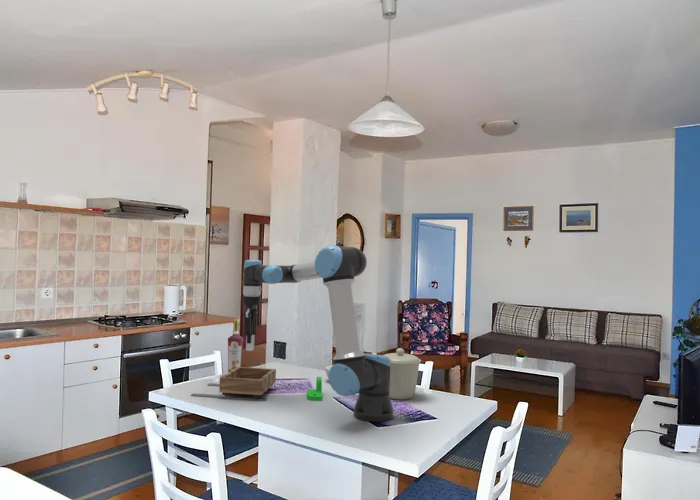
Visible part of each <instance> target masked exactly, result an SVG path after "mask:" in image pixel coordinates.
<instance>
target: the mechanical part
mask: <svg viewBox="0 0 700 500" xmlns="http://www.w3.org/2000/svg"><path fill="white" fill-rule="evenodd" d="M322 378H323V377H322V376H316V386H315V387H316V388H315V389H314V388H307V389H306V397H307V398H306V399H307V400H308V401H312V402H313V401H314V402H315V401H317V402H322V401H323V393H322V390H323V389H322V388H323V385H322V383H323V381H322V380H323V379H322Z"/></svg>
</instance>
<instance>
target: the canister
mask: <svg viewBox="0 0 700 500" xmlns="http://www.w3.org/2000/svg"><path fill="white" fill-rule="evenodd" d="M382 355H383V356H387V357H389V359H390V366H391V368H390V393H389V396H390V400H391V399H392V400H398V401H401V400H402V401H404V400H409V399H412V398H413V397H414V396H415V393H416V389H417V382H418V375H419V368H420V364H421V362H422V359H420V358H419V357H418V356H416V355H413V354H409V353H405V350H404V349H403V348H402V347H400V348H399V347H398V348H397V349H396V351H395V352H391V353H385V354H382Z"/></svg>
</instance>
